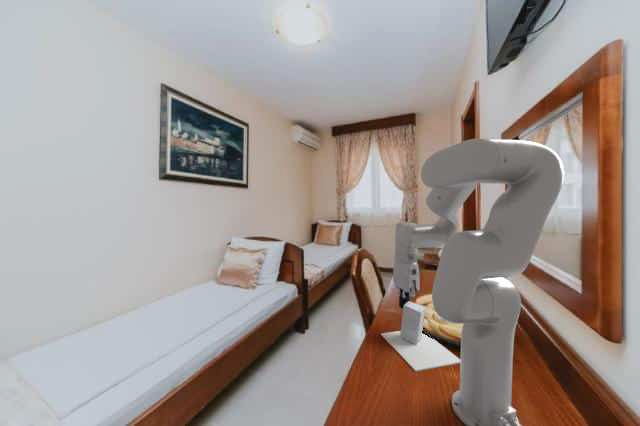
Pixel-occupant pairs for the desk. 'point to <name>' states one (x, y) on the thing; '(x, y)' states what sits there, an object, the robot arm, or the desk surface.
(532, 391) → the desk surface
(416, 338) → the skincare box
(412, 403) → the desk surface
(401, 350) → the white mat
